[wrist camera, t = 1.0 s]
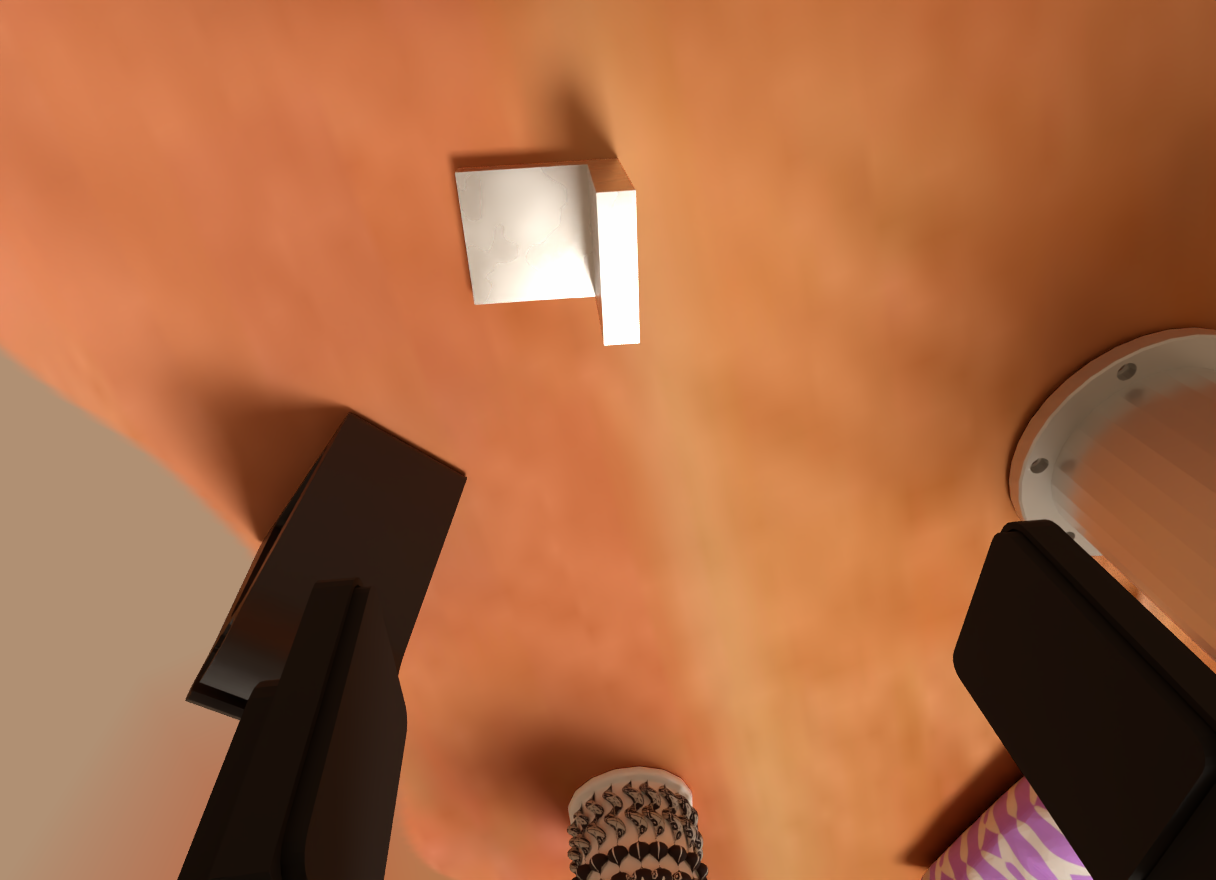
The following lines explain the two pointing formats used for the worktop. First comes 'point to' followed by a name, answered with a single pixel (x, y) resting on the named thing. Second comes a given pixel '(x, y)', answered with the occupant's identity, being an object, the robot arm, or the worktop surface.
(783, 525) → the worktop surface
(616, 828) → the decorative candle
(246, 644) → the phone stand
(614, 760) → the worktop surface
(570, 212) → the aluminium bracket
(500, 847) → the worktop surface
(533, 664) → the worktop surface
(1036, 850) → the pencil case
